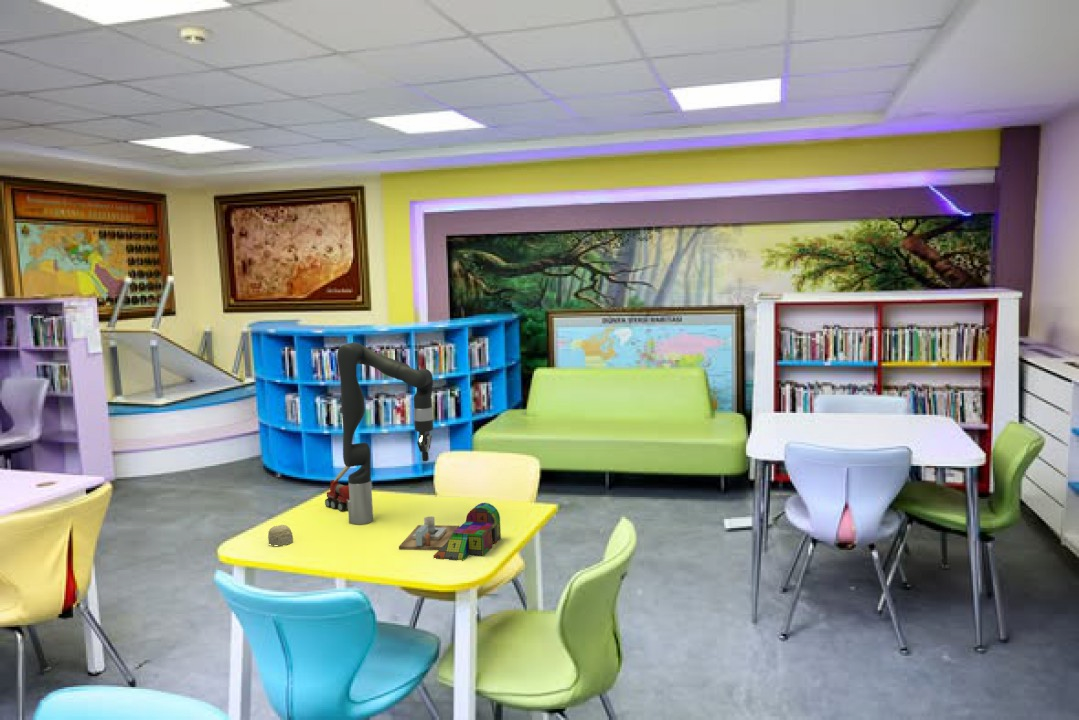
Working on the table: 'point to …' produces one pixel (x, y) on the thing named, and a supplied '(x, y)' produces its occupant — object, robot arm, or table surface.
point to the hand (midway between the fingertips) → (425, 460)
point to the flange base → (433, 543)
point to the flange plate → (423, 530)
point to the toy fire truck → (338, 493)
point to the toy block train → (473, 534)
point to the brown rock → (280, 535)
